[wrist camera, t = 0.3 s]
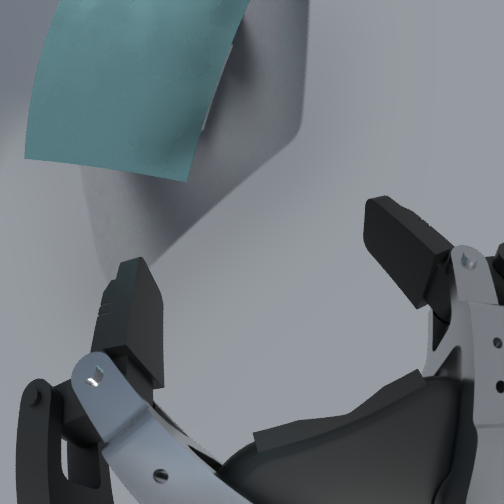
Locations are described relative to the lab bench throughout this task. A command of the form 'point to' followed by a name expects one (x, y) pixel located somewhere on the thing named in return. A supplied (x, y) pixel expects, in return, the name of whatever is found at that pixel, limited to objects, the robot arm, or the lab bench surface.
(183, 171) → the small shelf stand
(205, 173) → the lab bench surface
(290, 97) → the lab bench surface
